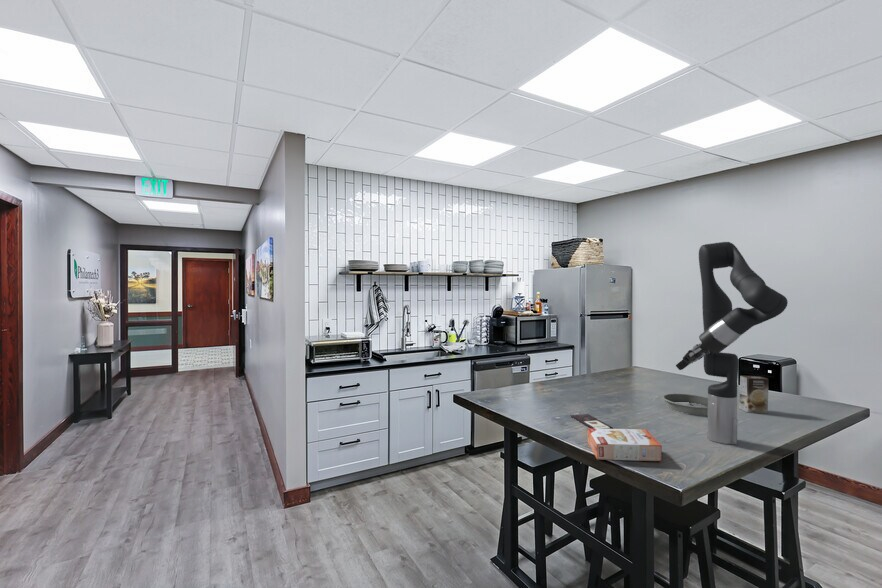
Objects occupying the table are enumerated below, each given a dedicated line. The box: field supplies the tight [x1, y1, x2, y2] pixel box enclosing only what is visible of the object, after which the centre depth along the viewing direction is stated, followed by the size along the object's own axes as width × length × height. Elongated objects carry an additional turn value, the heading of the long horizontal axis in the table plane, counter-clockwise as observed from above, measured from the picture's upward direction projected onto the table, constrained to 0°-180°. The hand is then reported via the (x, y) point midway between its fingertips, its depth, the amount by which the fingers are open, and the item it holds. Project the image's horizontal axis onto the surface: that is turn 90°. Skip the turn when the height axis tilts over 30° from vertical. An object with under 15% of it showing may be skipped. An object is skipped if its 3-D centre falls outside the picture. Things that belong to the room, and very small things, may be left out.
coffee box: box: [738, 375, 770, 414], centre depth 195 cm, size 9×6×16 cm
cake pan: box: [662, 393, 708, 416], centre depth 199 cm, size 25×25×4 cm
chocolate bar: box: [569, 413, 614, 429], centre depth 178 cm, size 9×1×18 cm
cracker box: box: [587, 427, 663, 462], centre depth 145 cm, size 14×6×21 cm
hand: (678, 367), depth 142 cm, fingers closed
